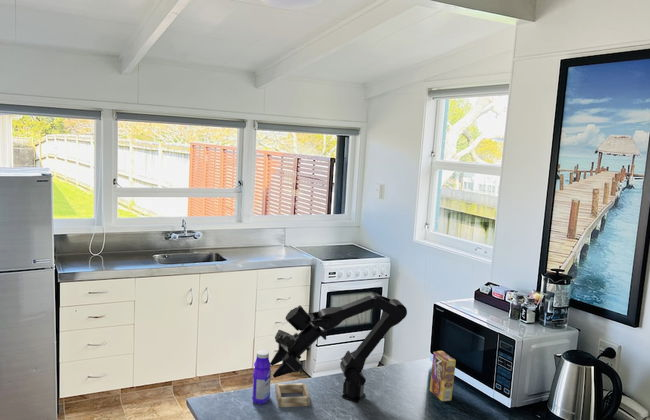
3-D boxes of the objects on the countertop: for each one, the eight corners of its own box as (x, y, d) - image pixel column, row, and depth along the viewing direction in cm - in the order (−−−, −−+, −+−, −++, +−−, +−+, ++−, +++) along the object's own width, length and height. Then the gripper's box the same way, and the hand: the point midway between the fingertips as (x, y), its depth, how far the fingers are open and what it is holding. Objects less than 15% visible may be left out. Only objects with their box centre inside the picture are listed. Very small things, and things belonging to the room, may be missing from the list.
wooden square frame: (304, 391, 199) (305, 383, 198) (309, 405, 188) (309, 397, 188) (275, 392, 196) (275, 384, 196) (278, 407, 186) (278, 398, 186)
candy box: (452, 400, 198) (456, 360, 196) (442, 402, 196) (446, 361, 194) (439, 389, 206) (443, 350, 204) (429, 390, 205) (432, 351, 202)
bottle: (265, 406, 186) (267, 357, 184) (249, 403, 187) (251, 355, 185) (272, 396, 193) (274, 349, 191) (256, 394, 194) (258, 346, 192)
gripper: (286, 313, 197) (254, 344, 196) (293, 333, 179) (258, 367, 178) (307, 334, 200) (275, 364, 199) (316, 355, 181) (281, 389, 181)
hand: (272, 370), depth 189 cm, fingers open, 9 cm apart
